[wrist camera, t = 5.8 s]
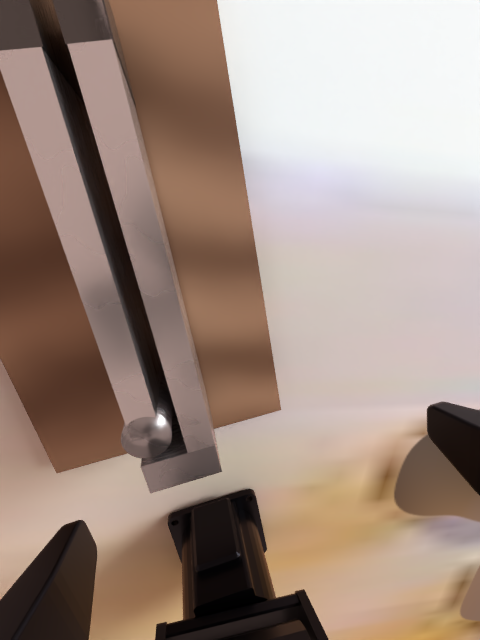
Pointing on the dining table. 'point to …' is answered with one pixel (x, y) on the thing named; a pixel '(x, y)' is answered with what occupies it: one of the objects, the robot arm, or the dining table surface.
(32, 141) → the tongs arm
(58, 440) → the board
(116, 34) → the frame
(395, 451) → the dining table surface
